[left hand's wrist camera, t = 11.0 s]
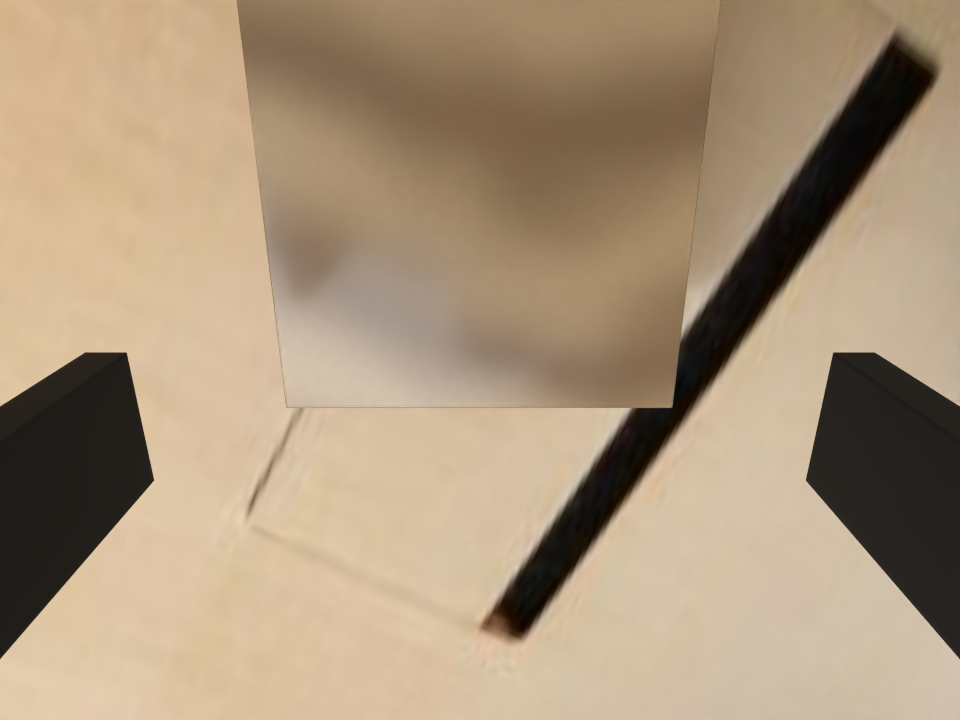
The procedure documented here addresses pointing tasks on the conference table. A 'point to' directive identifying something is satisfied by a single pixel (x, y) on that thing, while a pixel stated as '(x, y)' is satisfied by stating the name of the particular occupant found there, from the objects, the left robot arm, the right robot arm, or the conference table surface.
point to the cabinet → (479, 196)
